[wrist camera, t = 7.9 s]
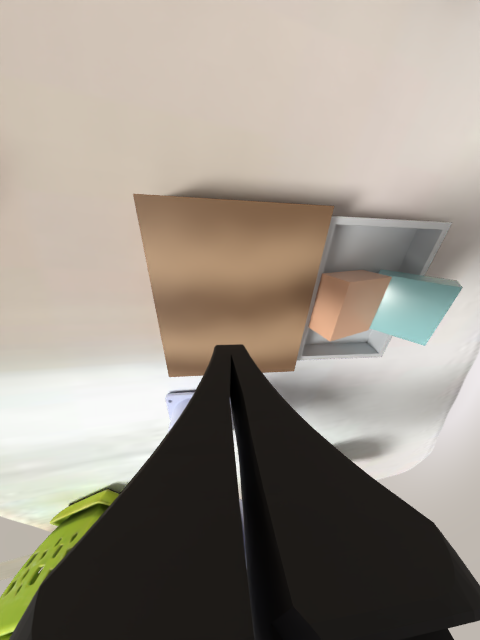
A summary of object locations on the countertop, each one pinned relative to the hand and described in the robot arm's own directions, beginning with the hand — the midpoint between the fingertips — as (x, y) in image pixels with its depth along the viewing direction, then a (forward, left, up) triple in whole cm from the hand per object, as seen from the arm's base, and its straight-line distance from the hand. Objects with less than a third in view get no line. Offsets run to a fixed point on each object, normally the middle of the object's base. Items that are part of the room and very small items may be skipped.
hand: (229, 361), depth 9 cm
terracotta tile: (0, -10, -8) cm, 13 cm away
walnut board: (0, -1, -10) cm, 10 cm away
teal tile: (0, -15, -6) cm, 16 cm away
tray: (0, -12, -10) cm, 16 cm away
